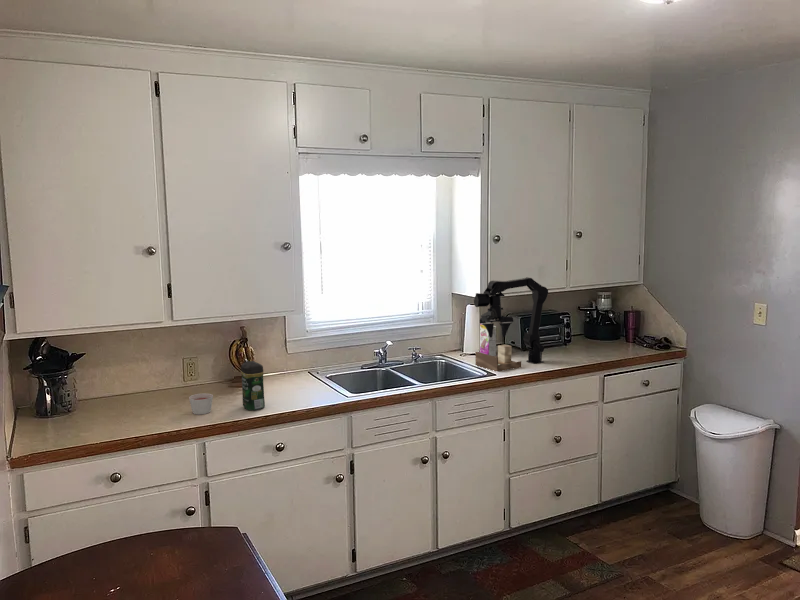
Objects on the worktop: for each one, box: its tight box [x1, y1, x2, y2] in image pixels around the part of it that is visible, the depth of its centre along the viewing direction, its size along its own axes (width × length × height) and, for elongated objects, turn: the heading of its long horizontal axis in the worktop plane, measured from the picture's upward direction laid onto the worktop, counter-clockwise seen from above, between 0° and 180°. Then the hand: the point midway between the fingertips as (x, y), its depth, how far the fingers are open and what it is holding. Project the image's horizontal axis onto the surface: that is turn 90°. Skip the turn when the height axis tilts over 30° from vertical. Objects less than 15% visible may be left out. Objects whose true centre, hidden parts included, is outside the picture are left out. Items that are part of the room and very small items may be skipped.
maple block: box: [497, 344, 512, 363], centre depth 330 cm, size 4×5×8 cm
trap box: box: [475, 351, 522, 372], centre depth 328 cm, size 16×16×7 cm
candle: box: [188, 392, 214, 415], centre depth 256 cm, size 9×9×6 cm
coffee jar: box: [240, 360, 266, 411], centre depth 261 cm, size 10×8×19 cm
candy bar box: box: [479, 323, 497, 356], centre depth 355 cm, size 11×5×16 cm, turn 22°
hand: (497, 337), depth 326 cm, fingers open, 9 cm apart
